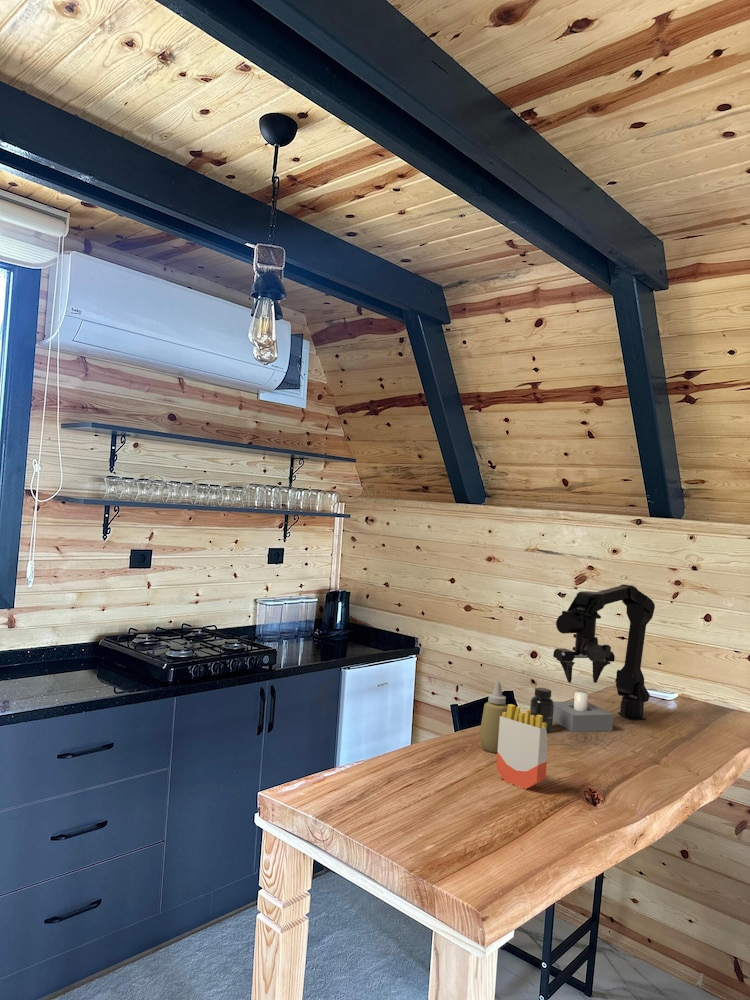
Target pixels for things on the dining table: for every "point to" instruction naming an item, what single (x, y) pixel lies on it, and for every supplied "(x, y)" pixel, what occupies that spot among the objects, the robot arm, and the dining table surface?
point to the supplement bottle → (543, 706)
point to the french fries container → (522, 747)
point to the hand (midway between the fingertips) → (582, 682)
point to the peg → (580, 700)
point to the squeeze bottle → (492, 719)
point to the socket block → (582, 718)
